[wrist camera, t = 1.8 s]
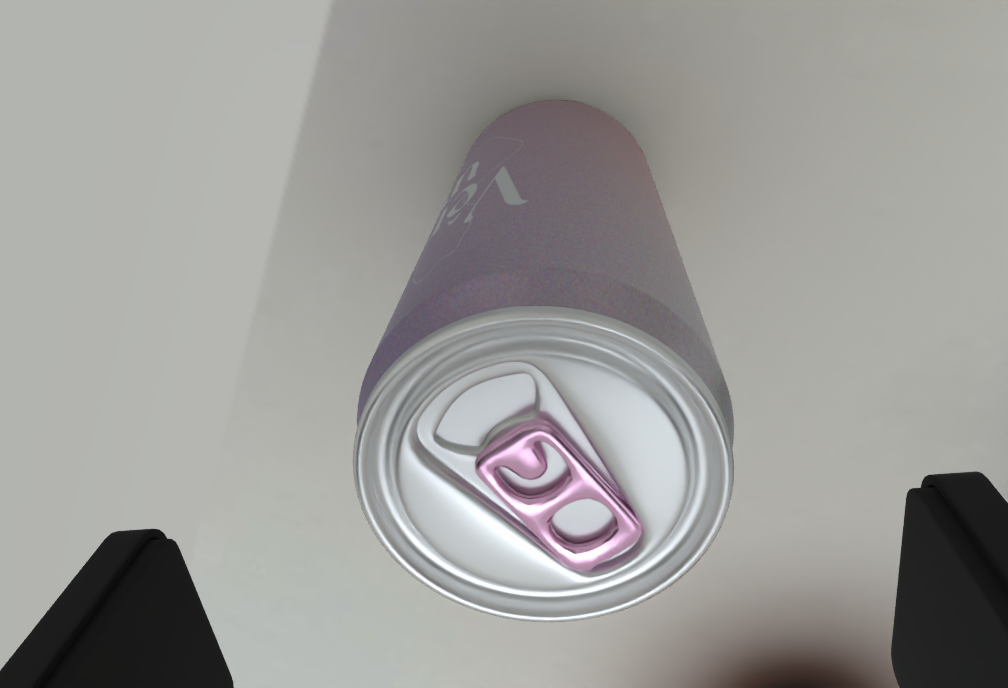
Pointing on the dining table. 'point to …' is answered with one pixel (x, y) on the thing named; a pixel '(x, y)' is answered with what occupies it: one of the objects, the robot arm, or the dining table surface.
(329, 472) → the dining table surface
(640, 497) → the beverage can
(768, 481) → the dining table surface
